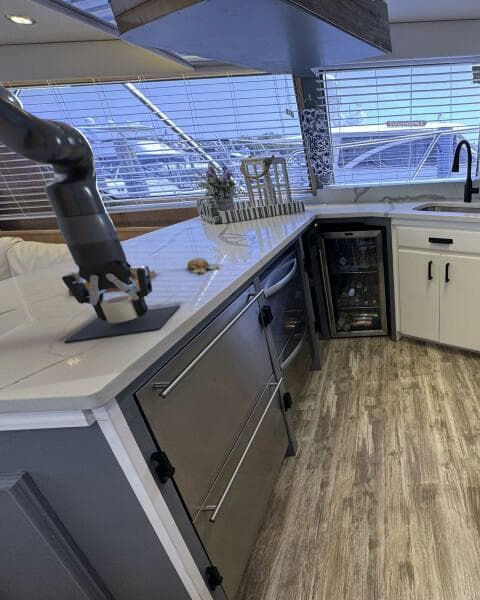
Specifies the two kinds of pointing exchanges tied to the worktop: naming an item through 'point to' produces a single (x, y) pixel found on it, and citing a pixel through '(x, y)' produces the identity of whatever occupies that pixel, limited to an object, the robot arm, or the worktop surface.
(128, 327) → the mat
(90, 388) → the worktop surface
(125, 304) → the tape
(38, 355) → the worktop surface
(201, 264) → the turtle figurine
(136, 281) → the tray
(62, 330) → the worktop surface
